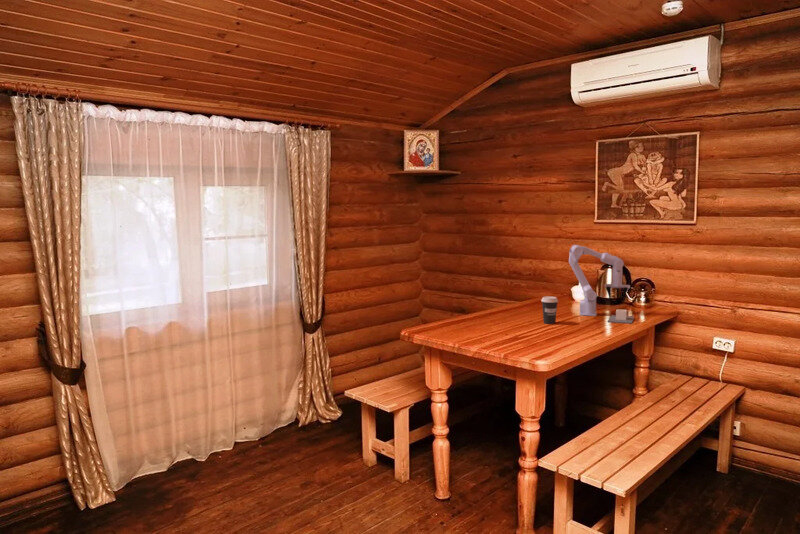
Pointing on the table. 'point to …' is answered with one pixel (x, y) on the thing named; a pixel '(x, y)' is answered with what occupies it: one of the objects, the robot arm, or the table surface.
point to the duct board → (628, 320)
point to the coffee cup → (549, 309)
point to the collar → (621, 314)
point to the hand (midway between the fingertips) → (616, 299)
